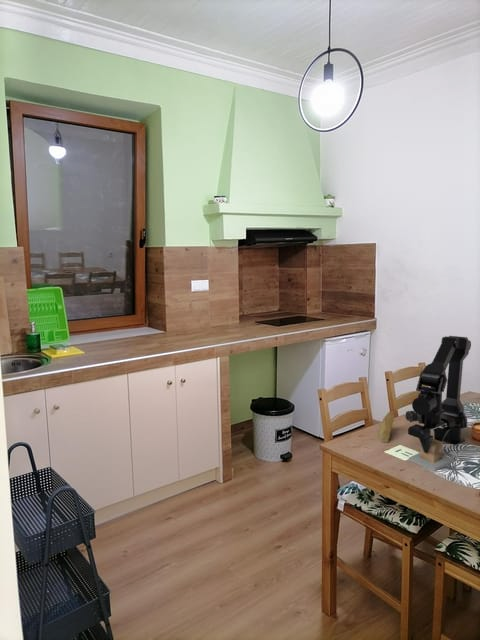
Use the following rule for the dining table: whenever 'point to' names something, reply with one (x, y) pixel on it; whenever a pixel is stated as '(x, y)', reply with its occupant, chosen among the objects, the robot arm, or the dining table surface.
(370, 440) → the dining table surface
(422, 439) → the robot arm
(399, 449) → the pale cream tile
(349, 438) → the dining table surface
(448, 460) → the slate board
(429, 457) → the block
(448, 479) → the dining table surface
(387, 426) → the rock
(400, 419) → the dining table surface
